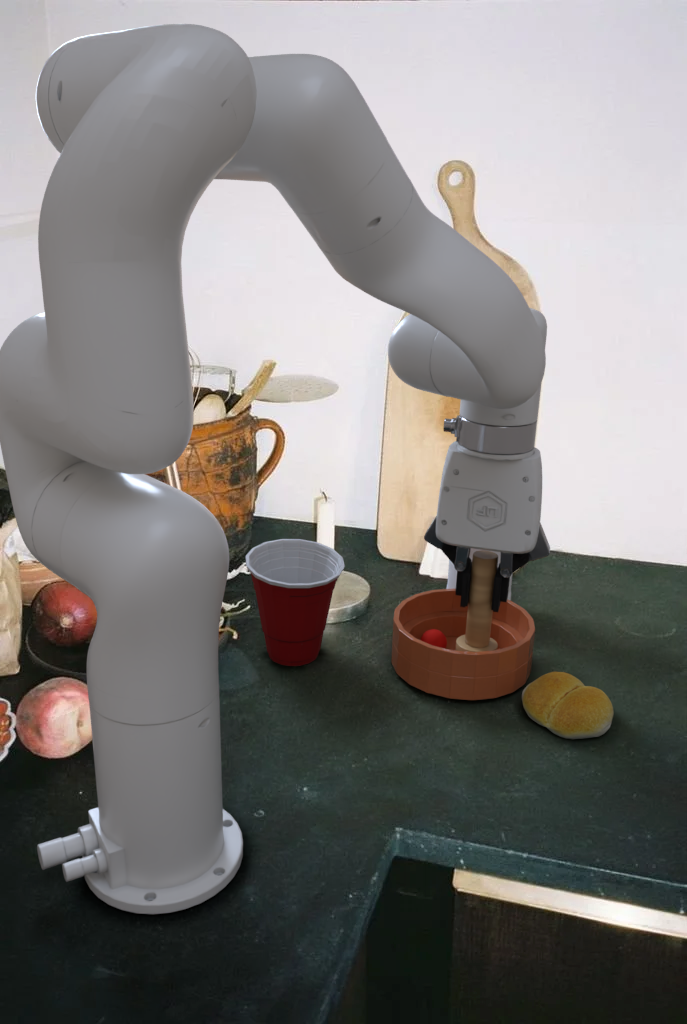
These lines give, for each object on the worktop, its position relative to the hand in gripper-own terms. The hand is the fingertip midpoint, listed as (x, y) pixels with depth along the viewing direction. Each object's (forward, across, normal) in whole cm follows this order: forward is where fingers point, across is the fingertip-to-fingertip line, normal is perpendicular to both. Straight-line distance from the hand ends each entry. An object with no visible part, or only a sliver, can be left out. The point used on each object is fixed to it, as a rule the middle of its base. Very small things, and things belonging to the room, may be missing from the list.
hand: (480, 602), depth 98 cm
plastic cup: (+10, -20, 0) cm, 22 cm away
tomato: (+7, -5, +3) cm, 10 cm away
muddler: (+6, 0, 0) cm, 6 cm away
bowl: (+9, -2, +2) cm, 10 cm away
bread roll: (+10, +10, -4) cm, 14 cm away
